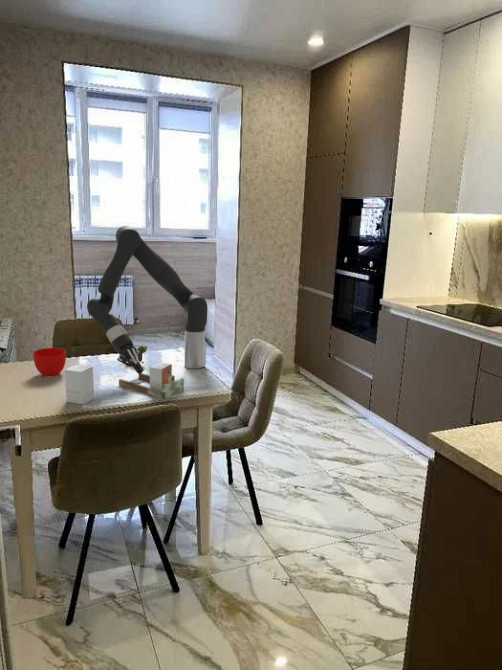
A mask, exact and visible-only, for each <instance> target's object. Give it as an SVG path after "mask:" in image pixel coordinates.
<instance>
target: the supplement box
mask: <svg viewBox="0 0 502 670" xmlns="http://www.w3.org/2000/svg"><path fill="white" fill-rule="evenodd" d="M64 376H65V377H64V378H65V379H64V381H65V394H66V395H65V396H66V399H65V400H66V403H73V404H79V405H85V404H86V403H88V402H90V401H92V400H94V399H95V385H94V367H93V366H91V365H84V364H83V365H82V364H74V365H72V366H70V367H68V368H65V369H64Z"/></svg>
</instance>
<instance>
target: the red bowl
mask: <svg viewBox="0 0 502 670" xmlns="http://www.w3.org/2000/svg"><path fill="white" fill-rule="evenodd" d="M32 355H33V357H32V358H33V364H34V367H35V369H36V371H38V372H39V373H40V374H41V375H42V376H43V377H45V376H47V377H48V376H53V377H57V376H58V375H60V374H61V372H62V371H63V369H64V368H65V365H66V359H67V351H66V350H65V349H64V348H59V347H47V348H45V347H44V348H40V349H37V350H34V351H33V352H32ZM56 375H57V376H56ZM47 377H46V378H47ZM48 378H49V377H48Z"/></svg>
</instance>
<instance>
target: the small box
mask: <svg viewBox="0 0 502 670" xmlns="http://www.w3.org/2000/svg"><path fill="white" fill-rule="evenodd" d="M172 366H173V364H171V363H167V362H161V361H160V362H158V363H157V364H154V365H153V366H150V367H149V375H150V382H149V387H150V388H153V389H157V390H160V391H161V386H162V385H165V384H167V383H170V382H172V375H173V374H172V373H173V367H172Z"/></svg>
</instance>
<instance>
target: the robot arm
mask: <svg viewBox="0 0 502 670" xmlns="http://www.w3.org/2000/svg"><path fill="white" fill-rule="evenodd" d="M115 239H116V242H117V245H116V249H115V252H114V255H113V258H112V259H111V261H110V262H109V265H108V266H107V267H106V269H105V271H104V273H103V275H102V277H101V280H100V282H99V284H98V287H97V290H98V293H99V294H100V297H99V298H91V299H90V300H88V301H87V304H86V310H87V312H88V314H89V315H90V316H91V318H92V319H93V320H94V321H95V322H96V323H98V325H100V326H101V328H102V330H103V331H104V333H105V334H106V336H107V339H108V340H109V342H110V343H111V345H112V346H113V348H114V349H115V351H116V352H117V353H118V355H119V356H118V358H117V359H116V360H117V361H118V362H119V363H121V364H122V365H125V366H127V367H128V368H130V367H132V368H133V369H134V370H135V372H136V373H137V374H138V375H139V374H141V373H143V372H144V368H143V366H142V362H143V354H144V353H143V351H142V350H140V351H139V350H136V349H137V348H136V347H135V345H134V342H133V340H132V339H131V337H130V336H129V334H128V332H127V331H126V329H125V328H124V327H123V326H122V325H121V323H120V322H119V320H118V318H117V317H116V316H115V315H114V314H113V315H112V314H110V313H111V311H112V308H113V304H114V298H115V293H116V291H117V289H118V286H119V283H120V282H121V280H122V276H123V274H124V272H125V270H126V268H127V265H128V263H130V260H131V258H132V257H134V258H135V259H136V260H137V261H138V262H139V263H140V265H141V266H142V268H143V269H144V270H145V271H146V272H147V274H148V275H149V276H150V277H151V278H152V279H153V280H154V281H155V282H156V283H157V284H158V285H159V286H160V287H162V288H163V289H164V290H165V291H166V292H167V293H169V295H171V296H172V297H173V298H174V299H175V300H176V302H177V303H178V304H179V305H180V306H181V308H182V309H183V310H184V311H185V312H186V313H187V322H186V323H185V324H184V367H185V368H186V369H192V370H193V369H194V370H195V369H196V370H197V369H198V370H199V369H202V367H203V368H205V366H206V362H207V357H206V355H207V346H206V326H207V323H208V310H209V309H208V302H207V300H206V299H205V298H204V297H203V296H200V295H198V294H196V293H194V292H193V291H192V290H191V289H190V288H189V287H187V286H186V285H185V284H184V282H183V281H182V279H181V278H180V275H179V274H178V273H177V271H176V270H175V269H174V267H172V266H171V264H170V263H169V262H167V261H166V260H165V259H164V258H163V257H162V256H160V255H159V254H158V253H157V252H156V251H154V250H153V249H152V248H151V247H150V246H149V245H147V244H146V242H145V241H144V239H142V237H141V235H140V233H139V232H138V231H137V230H136V229H135V228H134V227H132V226H130V225H129V226H128V225H123V226H120V227H119V228H117V230H116V233H115ZM142 353H143V354H142Z"/></svg>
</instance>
